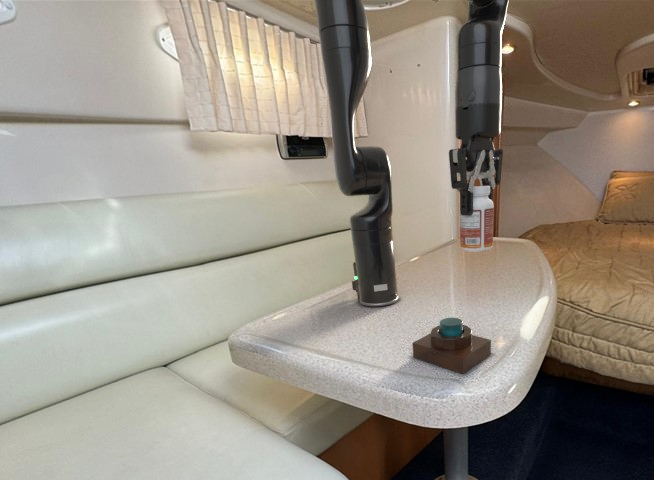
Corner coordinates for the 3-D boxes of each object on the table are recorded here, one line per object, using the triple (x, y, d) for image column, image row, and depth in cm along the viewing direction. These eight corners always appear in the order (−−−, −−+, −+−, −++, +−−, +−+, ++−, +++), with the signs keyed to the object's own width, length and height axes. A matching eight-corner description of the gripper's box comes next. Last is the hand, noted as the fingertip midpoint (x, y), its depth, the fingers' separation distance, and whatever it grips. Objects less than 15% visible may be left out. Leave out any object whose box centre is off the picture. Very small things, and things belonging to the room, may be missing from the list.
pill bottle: (484, 245, 73) (486, 185, 69) (498, 250, 68) (500, 185, 63) (455, 248, 72) (455, 187, 67) (467, 253, 67) (467, 187, 62)
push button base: (413, 357, 60) (411, 332, 58) (442, 341, 66) (441, 317, 64) (463, 374, 54) (462, 347, 52) (490, 354, 60) (491, 329, 58)
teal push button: (435, 334, 58) (435, 322, 57) (448, 327, 61) (448, 316, 60) (453, 339, 56) (453, 327, 55) (466, 332, 58) (466, 320, 58)
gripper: (481, 112, 67) (480, 209, 74) (433, 104, 57) (437, 217, 65) (519, 105, 63) (513, 209, 70) (473, 96, 53) (472, 218, 60)
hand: (476, 212), depth 67 cm, fingers closed on pill bottle, 6 cm apart
